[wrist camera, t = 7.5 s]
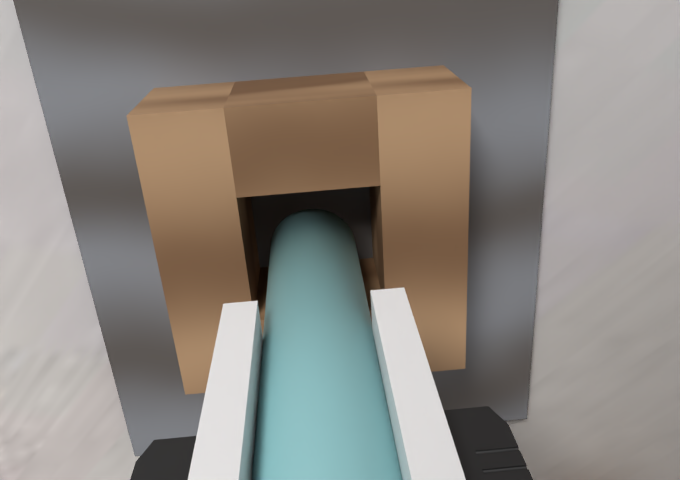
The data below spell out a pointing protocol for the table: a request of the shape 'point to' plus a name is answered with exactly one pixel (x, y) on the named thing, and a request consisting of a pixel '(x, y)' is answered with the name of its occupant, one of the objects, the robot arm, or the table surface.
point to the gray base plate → (299, 172)
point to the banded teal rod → (320, 361)
